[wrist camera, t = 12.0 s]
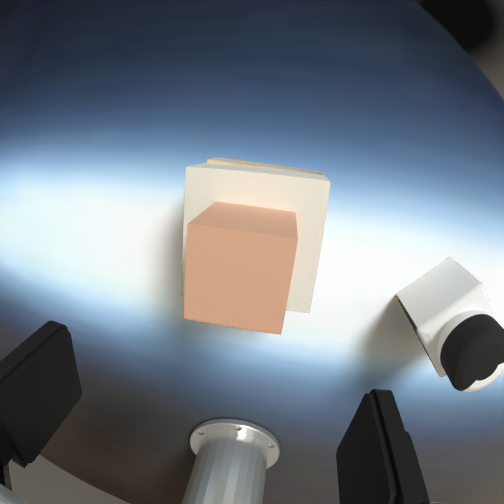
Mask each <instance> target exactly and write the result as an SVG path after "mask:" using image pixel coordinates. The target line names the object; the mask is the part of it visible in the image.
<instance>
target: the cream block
mask: <svg viewBox="0 0 504 504" xmlns="http://www.w3.org/2000/svg"><path fill="white" fill-rule="evenodd" d="M330 183H331V181H329V180H328V179H327V178H326V177H325V176H324V175H318V174H310V173H303V172H295V171H287V170H278V169H269V168H260V167H250V166H239V165H227V164H215V163H201V164H196V165H191V166H187V167H186V178H185V197H184V221H183V256H182V296H184V291H185V264H186V243H187V226H188V223H189V222H190V221H192V220H193V219H194V218H195V217H197V216H198V215H199V214H200V213H202V212H203V211H204V210H205V209H207V208H208V207H209V206H211V205H212V204H213V203H214V202H216V201H218V202H227V203H234V204H242V205H250V206H257V207H264V208H271V209H278V210H285V211H292V212H296V221H297V232H298V243H297V249H296V255H295V261H294V267H293V272H292V278H291V284H290V289H289V295H288V300H287V306H286V310H287V311H296V312H304V313H309V312H310V307H311V301H312V296H313V291H314V285H315V280H316V274H317V268H318V263H319V257H320V251H321V244H322V238H323V232H324V225H325V219H326V212H327V205H328V198H329V191H330Z"/></svg>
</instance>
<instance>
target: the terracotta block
mask: <svg viewBox="0 0 504 504" xmlns="http://www.w3.org/2000/svg"><path fill="white" fill-rule="evenodd" d="M297 243H298V232H297V221H296V212H292V211H285V210H278V209H271V208H264V207H257V206H250V205H242V204H234V203H227V202H218V201H216V202H214V203H213V204H212V205H211V206H209V207H208V208H207V209H205V210H204V211H203V212H202V213H200V214H199V215H198V216H197V217H195V218H194V219H193V220H192V221H190V222H189V223H188V226H187V243H186V264H185V291H184V319H189V320H194V321H200V322H205V323H211V324H216V325H222V326H228V327H234V328H240V329H246V330H253V331H259V332H266V333H273V334H280V335H281V332H282V327H283V322H284V317H285V311H286V306H287V300H288V295H289V289H290V284H291V278H292V272H293V267H294V261H295V255H296V249H297Z"/></svg>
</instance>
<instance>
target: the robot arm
mask: <svg viewBox="0 0 504 504" xmlns="http://www.w3.org/2000/svg"><path fill="white" fill-rule="evenodd" d="M81 394H82V389H81V385H80V380H79V376H78V371H77V366H76V361H75V356H74V351H73V345H72V339H71V334H70V332H69V331H68V329H67V327H66V326H65V325H63V324H60V323H57V322H55V321H48V322H47V323H46V324H44V325H43V326H42V327H41V328H39V329H38V330H37V331H36V332H35V333H33V334H32V335H31V336H30V337H29V338H27V339H26V340H25V341H24V342H23V343H21V344H20V345H19V346H18V347H17V348H16V349H14V350H13V351H12V352H11V353H10V354H9V355H7V356H6V357H5V358H4V359H3V360H2V361H0V504H30V503H28V502H27V501H25V500H24V499H22V498H21V497H19V496H18V495H16V494H15V493H13V492H12V487H11V481H10V474H9V466H8V463H9V461H10V460H11V459H12V460H13V461H14V462H15V463H17V464H19V465H20V466H22V467H23V468H25V467H26V465H27V464H28V463H32V462H33V461H34V460H35V459H36V457H37V456H38V455H39V453H40V452H41V450H42V449H43V448H44V446H45V445H46V444H47V442H48V441H49V439H50V438H51V437H52V435H53V434H54V433H55V431H56V430H57V429H58V427H59V426H60V425H61V423H62V422H63V421H64V419H65V418H66V417H67V415H68V414H69V413H70V411H71V410H72V409H73V407H74V406H75V405H76V404H77V402H78V401H79V400H80V398H81ZM190 446H191V449H192V450H193V452H194V453H195V454H196V455H197V456H196V460H195V463H194V466H193V469H192V472H191V476H190V479H189V482H188V485H187V489H186V492H185V495H184V498H183V501H182V504H262V501H263V493H264V485H265V476H266V469H267V468H269V467H270V466H272V465H273V464H274V463H275V462H276V461H277V460H278V458H279V453H280V446H279V443H278V441H277V439H276V438H275V437H274V436H273V435H272V434H271V433H270V432H269V431H267V430H266V429H264V428H262V427H260V426H258V425H256V424H253V423H250V422H247V421H242V420H236V419H215V420H210V421H206V422H203V423H202V424H200V425H198V426H197V427H196V428H195V429H194V430H193V432H192V434H191V438H190ZM336 459H337V471H338V483H339V497H340V504H446V503H443V502H434V503H430V501H429V498H428V494H427V490H426V487H425V483H424V479H423V476H422V472H421V469H420V466H419V462H418V459H417V456H416V452H415V449H414V446H413V443H412V440H411V437H410V435H409V433H408V432H406V431H405V429H404V426H403V423H402V420H401V417H400V414H399V411H398V408H397V405H396V402H395V399H394V396H393V393H392V391H390V390H378V389H373V390H371V392H370V393H369V394H368V393H366V394H365V395H364V397H363V399H362V401H361V403H360V405H359V407H358V409H357V411H356V413H355V415H354V417H353V419H352V421H351V423H350V425H349V427H348V429H347V431H346V433H345V435H344V437H343V439H342V441H341V443H340V444H339V446H338V449H337V454H336Z"/></svg>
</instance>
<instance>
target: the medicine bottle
mask: <svg viewBox="0 0 504 504" xmlns="http://www.w3.org/2000/svg"><path fill="white" fill-rule="evenodd" d="M396 298H397V300H398V301H399V303H400V305H401V307H402V309H403V310H404V312H405V314H406V316H407V318H408V319H409V321H410V323H411V325H412V327H413V329H414V331H415V333H416V334H417V336H418V338H419V340H420V342H421V344H422V345H423V347H424V349H425V351H426V353H427V355H428V356H429V358H430V360H431V362H432V364H433V366H434V368H435V369H436V371H437V373H438V375H439V376H440V377H444V376H445V375H447V376H448V378H449V380H450V382H451V383H452V385H453V387H454V388H455V389H457V390H459V391H464V392H472V391H476V390H479V389H481V388H483V387H485V386H487V385H488V384H490V383H491V382H492V381H493V380H495V379H496V378H497V377H498V376H499V374H500V373H501V372H502V371H503V369H504V329H503V328H502V327H501V326H500V325H499V324H498V322H497V321H496V320H495V319H494V316H493V313H492V309H491V306H490V303H489V300H488V297H487V293H486V290H485V287H484V285H483V283H482V282H480V281H479V280H478V279H477V278H476V277H475V276H473V275H472V274H471V273H470V272H469V271H468V270H466V269H465V268H464V267H463V266H462V265H460V264H459V263H458V262H457V261H455V260H454V259H453V258H452V257H448V258H447V259H446V260H444V261H443V262H441V263H440V264H439V265H437V266H436V267H435V268H433V269H432V270H430V271H429V272H428V273H426V274H425V275H423V276H422V277H420V278H419V279H418V280H416V281H415V282H413V283H412V284H410V285H409V286H407V287H406V288H404V289H403V290H401V291H400V292H398V293H397V295H396Z"/></svg>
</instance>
